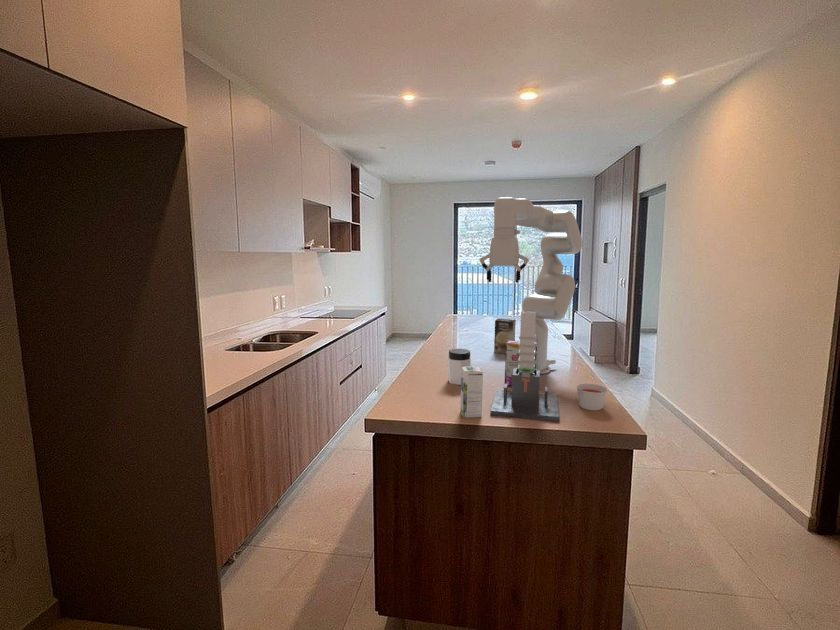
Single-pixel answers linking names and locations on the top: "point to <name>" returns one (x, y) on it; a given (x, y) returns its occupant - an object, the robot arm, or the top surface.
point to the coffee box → (503, 334)
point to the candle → (591, 396)
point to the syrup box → (471, 391)
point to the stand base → (525, 399)
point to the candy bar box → (514, 359)
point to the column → (527, 342)
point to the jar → (457, 364)
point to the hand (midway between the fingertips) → (503, 282)
